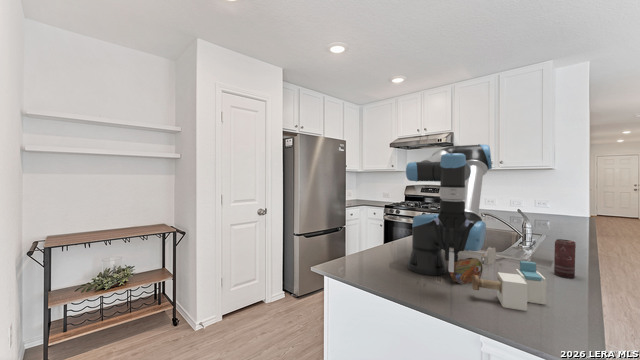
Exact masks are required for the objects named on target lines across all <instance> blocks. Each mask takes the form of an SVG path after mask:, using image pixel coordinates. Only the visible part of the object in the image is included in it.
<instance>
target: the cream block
mask: <svg viewBox="0 0 640 360" xmlns="http://www.w3.org/2000/svg"><path fill="white" fill-rule="evenodd" d="M496 278H497V280H496V281H500V282H502V290H496V297H497V299H498V301H499V302H500V304H501V307H503V308H506V309H510V310H511V309H512V310H518V311H524V312H527V311H528V302H527V283H526V282H525V281H524V279H523V278H522V277H521V276H520V275H517V274H515V273H507V272H499V271H498V272H497V277H496Z"/></svg>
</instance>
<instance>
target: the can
mask: <svg viewBox="0 0 640 360" xmlns="http://www.w3.org/2000/svg"><path fill="white" fill-rule="evenodd" d="M576 244H577V243H576V241H574V240H568V239H562V238H559V239H555V241H554V260H553V263H554V266H553V273H554V275H555V276H558V277H560V278H566V279H573V278H574V277H575V276H576V272H575V271H576V246H577V245H576Z"/></svg>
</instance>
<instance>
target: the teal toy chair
mask: <svg viewBox="0 0 640 360" xmlns="http://www.w3.org/2000/svg"><path fill="white" fill-rule="evenodd" d="M518 270H519V271H520V272H521V273H522V274H523V275H524V276H525V279H529V280H538V281H542V278H541V277H540V276H539V275H538V274H537V273H536V271H537V263H536V262H535V261H534V262H533V261H527V260H526V261H523V260H519V269H518Z"/></svg>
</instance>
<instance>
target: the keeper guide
mask: <svg viewBox="0 0 640 360" xmlns="http://www.w3.org/2000/svg"><path fill="white" fill-rule="evenodd" d="M519 270H520V269H518V268H516V269H515V272H514V274H517V275H520V276H521V277H522V278H523V279H524V281H525V282H526V283H527V303H532V304H539V305H547V278H545V277H544V276H543V274H541V273H540V272H539V271H537V270H536V273H537V274H538V275H539V276H540V277H541V278H542V281H538V280H529V279H525V276H524V275H523V274H522V273H521V272H520V271H519Z"/></svg>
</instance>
